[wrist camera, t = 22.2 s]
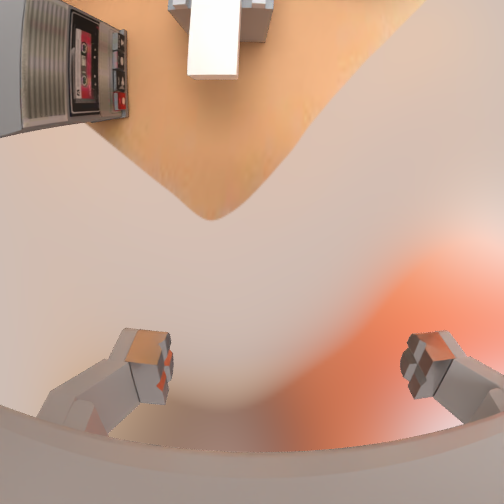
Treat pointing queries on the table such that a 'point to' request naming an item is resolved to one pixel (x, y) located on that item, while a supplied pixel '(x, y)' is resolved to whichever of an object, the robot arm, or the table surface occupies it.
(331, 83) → the table surface
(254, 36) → the grey railed block
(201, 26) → the pale angular block
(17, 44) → the cassette tape recorder
